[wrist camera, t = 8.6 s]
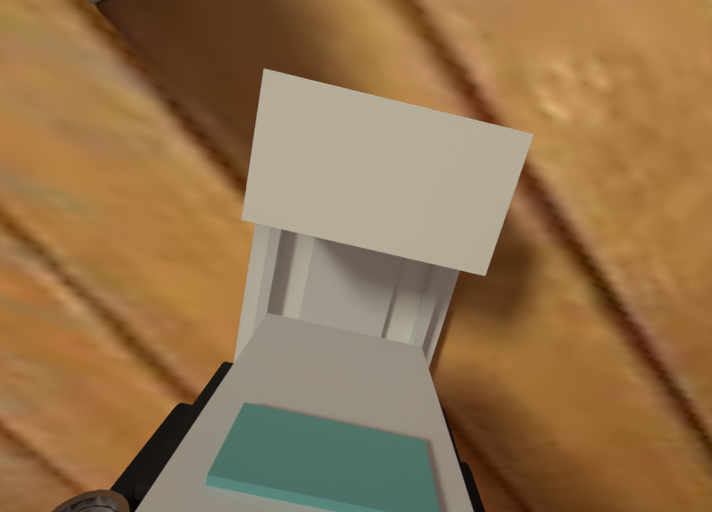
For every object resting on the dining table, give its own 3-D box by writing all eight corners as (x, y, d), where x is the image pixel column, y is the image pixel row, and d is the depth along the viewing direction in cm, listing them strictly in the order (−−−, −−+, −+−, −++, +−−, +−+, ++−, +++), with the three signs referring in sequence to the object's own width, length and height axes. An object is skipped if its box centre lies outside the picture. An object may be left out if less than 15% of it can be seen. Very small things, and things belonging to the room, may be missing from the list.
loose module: (423, 341, 11) (522, 639, 4) (383, 469, 12) (407, 855, 5) (268, 307, 11) (97, 554, 4) (244, 440, 12) (86, 802, 5)
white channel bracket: (399, 445, 24) (415, 577, 16) (230, 409, 23) (163, 526, 16) (490, 155, 19) (577, 144, 11) (279, 104, 19) (217, 56, 11)
